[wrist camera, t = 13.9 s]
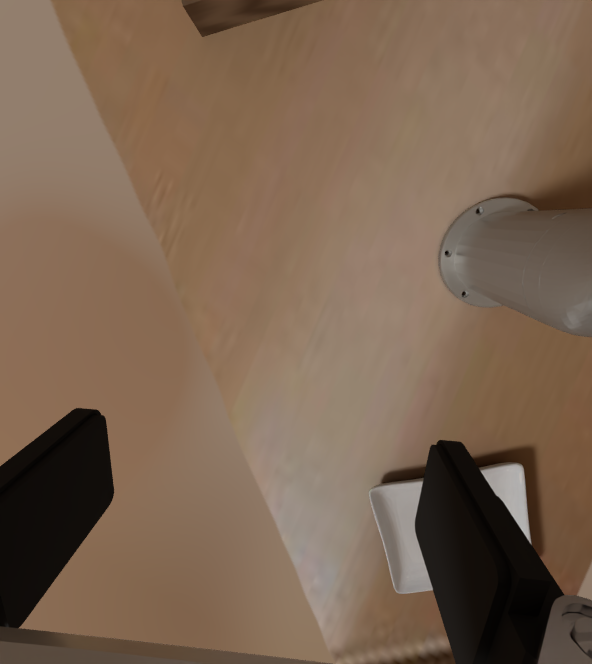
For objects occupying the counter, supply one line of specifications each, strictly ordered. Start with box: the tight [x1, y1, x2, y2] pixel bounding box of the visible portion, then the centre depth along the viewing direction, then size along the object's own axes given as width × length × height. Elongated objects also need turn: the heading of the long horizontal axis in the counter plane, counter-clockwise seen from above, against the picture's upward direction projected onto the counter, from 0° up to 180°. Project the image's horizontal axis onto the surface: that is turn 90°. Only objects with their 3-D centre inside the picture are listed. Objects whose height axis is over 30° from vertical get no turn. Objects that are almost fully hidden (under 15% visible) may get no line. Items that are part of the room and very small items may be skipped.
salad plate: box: [369, 462, 532, 594], centre depth 53 cm, size 21×21×3 cm
